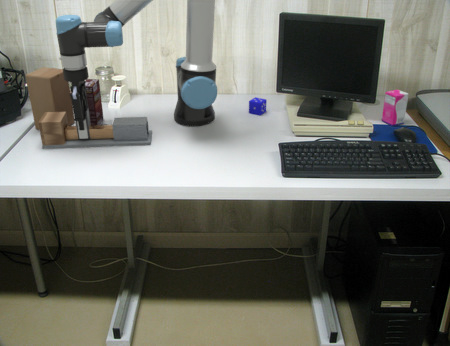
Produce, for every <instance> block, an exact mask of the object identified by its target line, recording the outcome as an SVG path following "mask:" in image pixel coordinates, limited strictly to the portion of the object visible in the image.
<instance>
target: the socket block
mask: <svg viewBox="0 0 450 346" xmlns="http://www.w3.org/2000/svg"><path fill="white" fill-rule="evenodd" d="M38 125H39V129H38V130H39V133H40V135H39V136H40V139H41V143H42V144H41V146H42V145H64V144H65V142H66V141H65V135H64V127H65V126H69V125H68V119H67V113H66V112H45V113H44V115H43V116H42V118H41V119H40V121H39V122H38Z"/></svg>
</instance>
